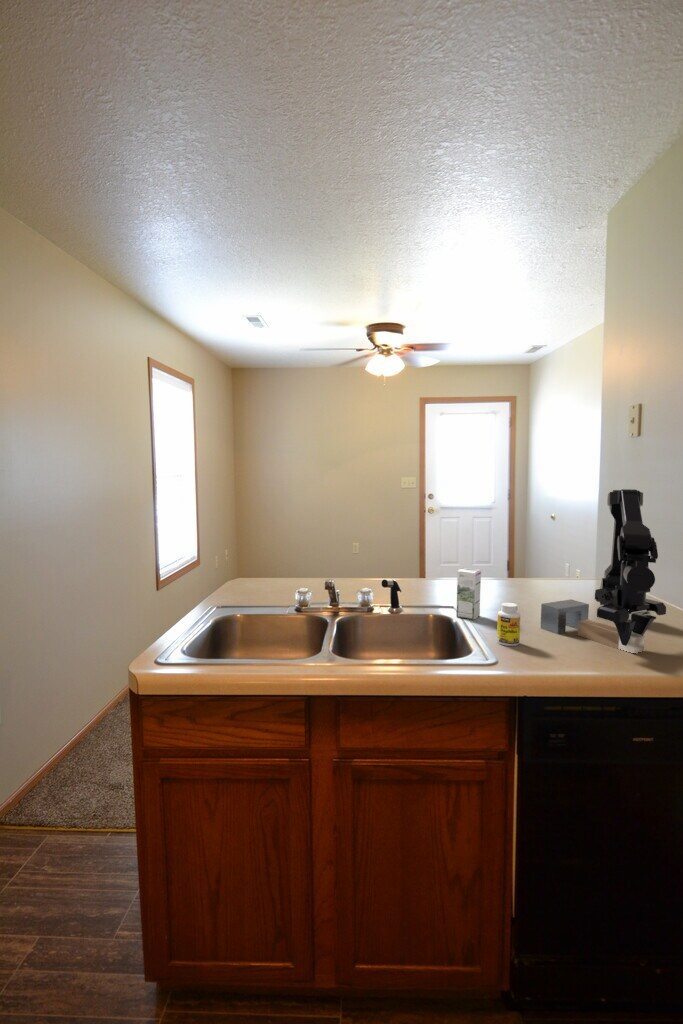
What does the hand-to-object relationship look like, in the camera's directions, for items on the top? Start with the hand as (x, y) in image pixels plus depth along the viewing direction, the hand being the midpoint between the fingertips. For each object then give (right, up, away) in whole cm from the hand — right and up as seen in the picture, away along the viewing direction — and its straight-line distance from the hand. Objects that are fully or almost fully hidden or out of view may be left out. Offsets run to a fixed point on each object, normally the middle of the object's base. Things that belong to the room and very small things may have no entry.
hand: (629, 643), depth 131 cm
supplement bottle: (-29, -1, +5) cm, 29 cm away
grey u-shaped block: (-9, 0, +18) cm, 20 cm away
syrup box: (-33, +1, +29) cm, 44 cm away
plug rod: (-3, -1, +5) cm, 6 cm away
